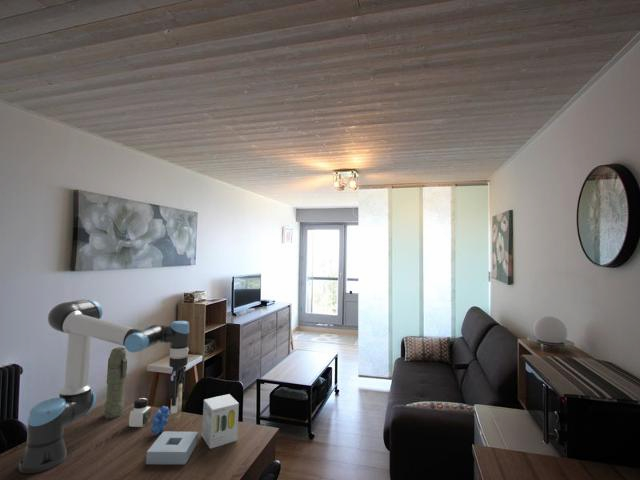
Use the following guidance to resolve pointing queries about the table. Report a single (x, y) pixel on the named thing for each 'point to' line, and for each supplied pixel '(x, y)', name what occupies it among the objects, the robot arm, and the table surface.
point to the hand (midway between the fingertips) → (176, 409)
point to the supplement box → (220, 420)
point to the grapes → (160, 420)
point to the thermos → (115, 383)
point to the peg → (179, 395)
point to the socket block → (172, 448)
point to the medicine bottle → (140, 413)
